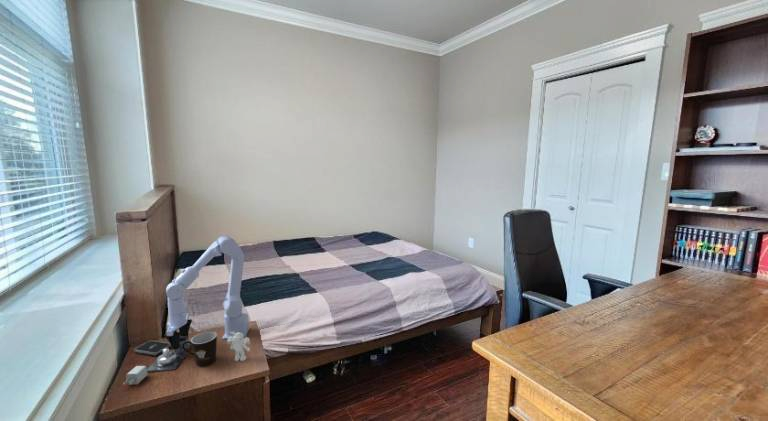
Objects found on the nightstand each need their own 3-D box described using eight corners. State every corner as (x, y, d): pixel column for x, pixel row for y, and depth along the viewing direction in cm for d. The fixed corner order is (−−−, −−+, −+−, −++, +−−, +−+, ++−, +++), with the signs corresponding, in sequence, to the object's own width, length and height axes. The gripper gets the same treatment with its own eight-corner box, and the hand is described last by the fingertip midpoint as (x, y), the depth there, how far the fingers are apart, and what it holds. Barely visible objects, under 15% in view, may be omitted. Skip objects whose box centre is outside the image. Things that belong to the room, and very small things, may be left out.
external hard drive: (150, 344, 135) (149, 340, 135) (171, 347, 133) (171, 343, 133) (134, 354, 129) (133, 349, 128) (156, 357, 126) (156, 353, 126)
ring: (191, 344, 135) (190, 335, 134) (185, 352, 129) (184, 343, 128) (177, 345, 134) (176, 336, 133) (170, 353, 128) (169, 344, 128)
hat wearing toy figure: (226, 361, 123) (224, 332, 121) (232, 355, 127) (230, 326, 125) (248, 363, 122) (246, 333, 120) (253, 357, 126) (251, 328, 124)
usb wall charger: (147, 376, 115) (146, 365, 114) (133, 389, 108) (131, 378, 108) (136, 376, 115) (135, 366, 114) (121, 389, 108) (119, 379, 108)
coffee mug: (224, 357, 126) (222, 333, 124) (205, 370, 118) (203, 345, 116) (201, 351, 129) (199, 328, 128) (182, 364, 121) (179, 340, 120)
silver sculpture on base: (187, 353, 128) (186, 340, 127) (175, 369, 118) (173, 355, 117) (160, 356, 127) (158, 343, 126) (145, 372, 117) (143, 358, 116)
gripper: (175, 304, 135) (178, 334, 137) (156, 321, 121) (160, 354, 123) (193, 303, 136) (196, 333, 138) (176, 319, 122) (180, 352, 124)
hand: (180, 343), depth 131 cm, fingers open, 7 cm apart
